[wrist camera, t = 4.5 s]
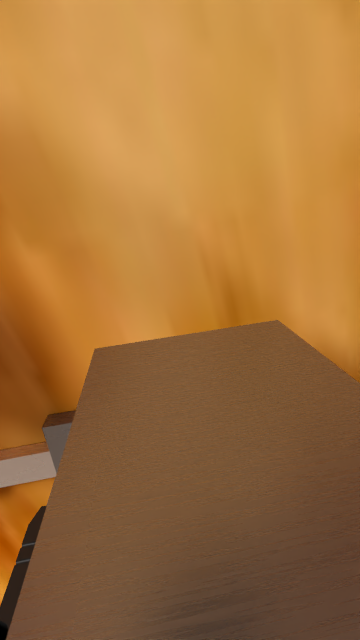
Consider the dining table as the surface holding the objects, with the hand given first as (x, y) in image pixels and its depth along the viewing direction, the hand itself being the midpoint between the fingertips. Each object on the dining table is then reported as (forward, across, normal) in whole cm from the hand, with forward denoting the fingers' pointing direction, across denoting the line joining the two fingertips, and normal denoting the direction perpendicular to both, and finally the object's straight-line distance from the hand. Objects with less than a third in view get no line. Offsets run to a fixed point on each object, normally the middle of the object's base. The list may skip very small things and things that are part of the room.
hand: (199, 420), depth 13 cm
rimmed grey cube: (0, 0, 0) cm, 0 cm away
